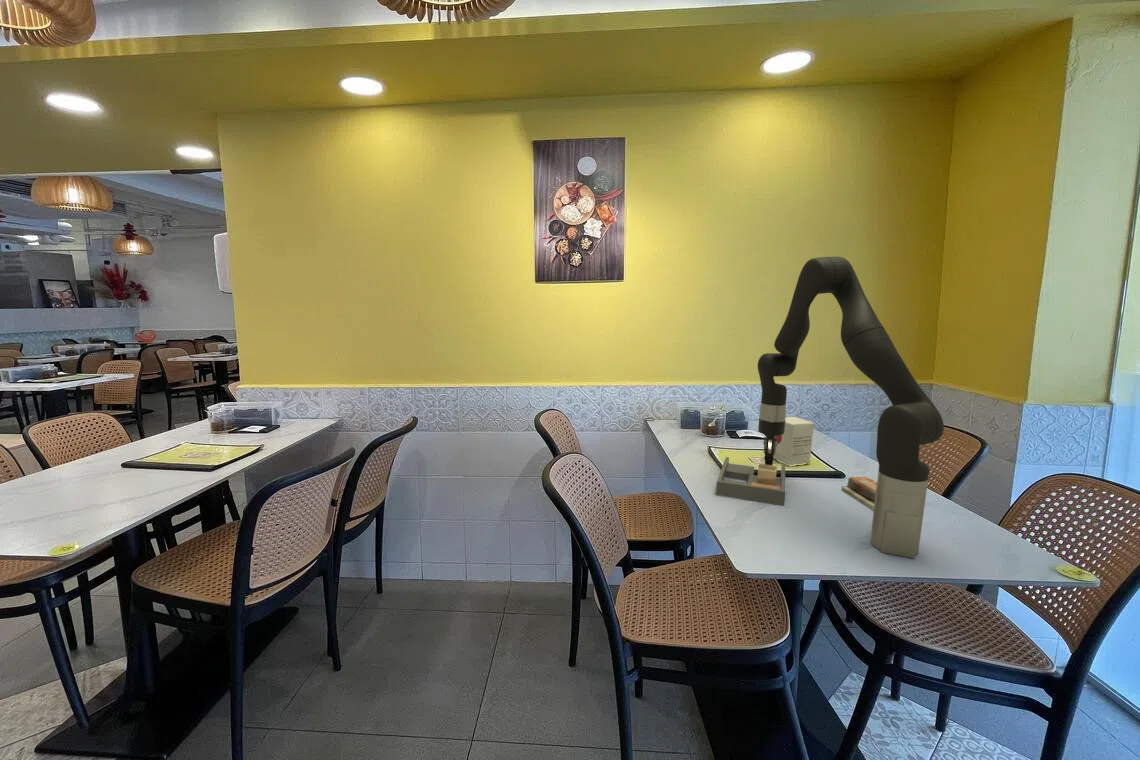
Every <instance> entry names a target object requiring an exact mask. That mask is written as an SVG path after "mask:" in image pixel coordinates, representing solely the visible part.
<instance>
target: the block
mask: <svg viewBox="0 0 1140 760" xmlns="http://www.w3.org/2000/svg"><path fill="white" fill-rule="evenodd" d="M777 467H778V466H777V465H774V464H772V465H766V464H765V463H758V468H757V475H758V478H757V483H763V484H770V485H775V484H776V478H777V470H778V469H777Z"/></svg>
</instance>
